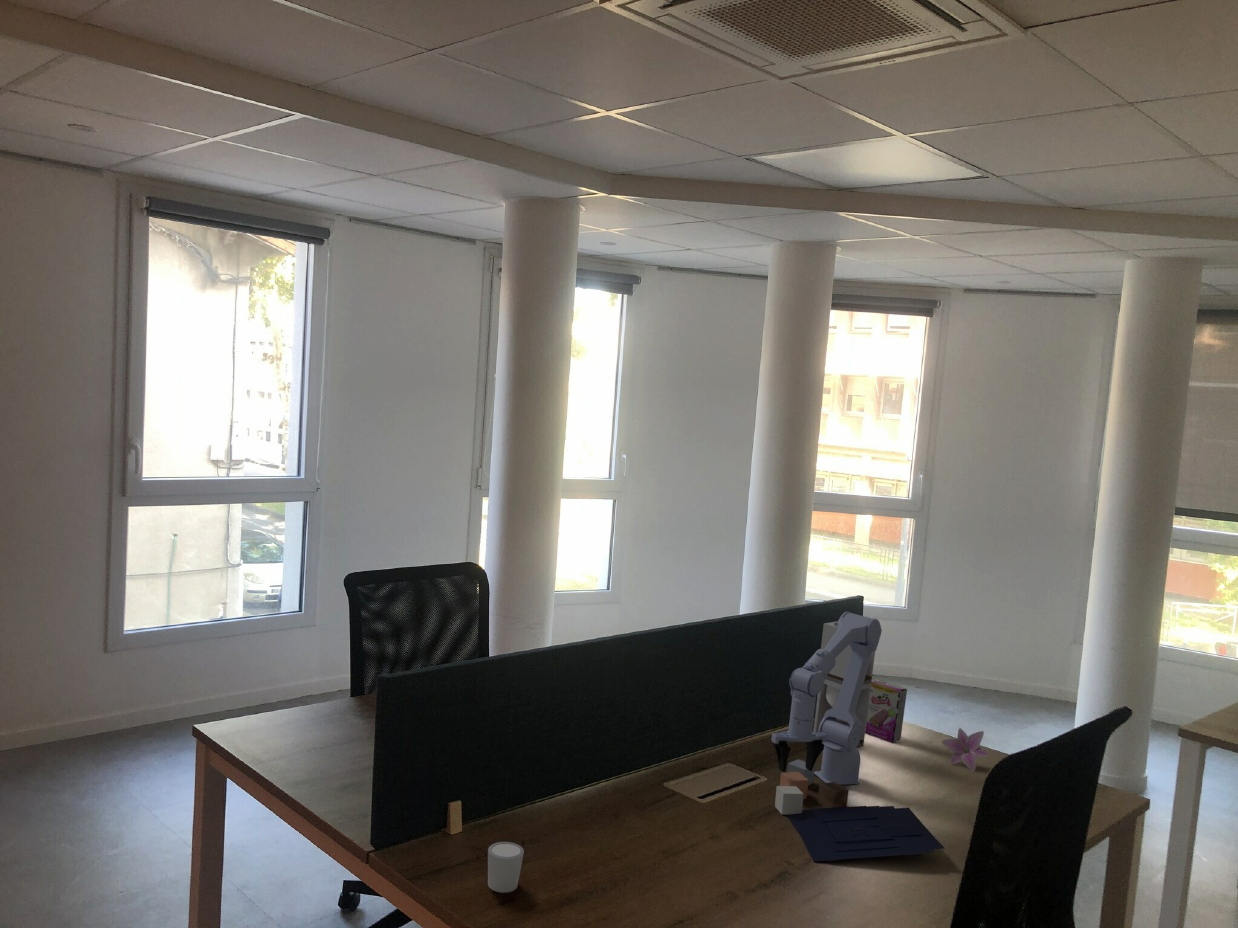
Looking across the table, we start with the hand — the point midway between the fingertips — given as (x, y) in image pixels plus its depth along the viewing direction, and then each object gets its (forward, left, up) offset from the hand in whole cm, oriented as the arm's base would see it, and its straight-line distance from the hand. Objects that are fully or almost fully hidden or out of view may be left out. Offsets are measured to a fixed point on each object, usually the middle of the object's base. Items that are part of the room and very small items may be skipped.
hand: (795, 769), depth 239 cm
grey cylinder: (+81, +31, -7) cm, 87 cm away
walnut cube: (-7, +7, -7) cm, 12 cm away
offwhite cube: (+6, +8, -6) cm, 12 cm away
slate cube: (-6, -7, -7) cm, 11 cm away
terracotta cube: (0, 0, -7) cm, 7 cm away
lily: (-64, -14, -7) cm, 66 cm away
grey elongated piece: (-33, -32, -7) cm, 47 cm away
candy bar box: (-51, -36, -7) cm, 63 cm away
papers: (-4, +24, -7) cm, 26 cm away
